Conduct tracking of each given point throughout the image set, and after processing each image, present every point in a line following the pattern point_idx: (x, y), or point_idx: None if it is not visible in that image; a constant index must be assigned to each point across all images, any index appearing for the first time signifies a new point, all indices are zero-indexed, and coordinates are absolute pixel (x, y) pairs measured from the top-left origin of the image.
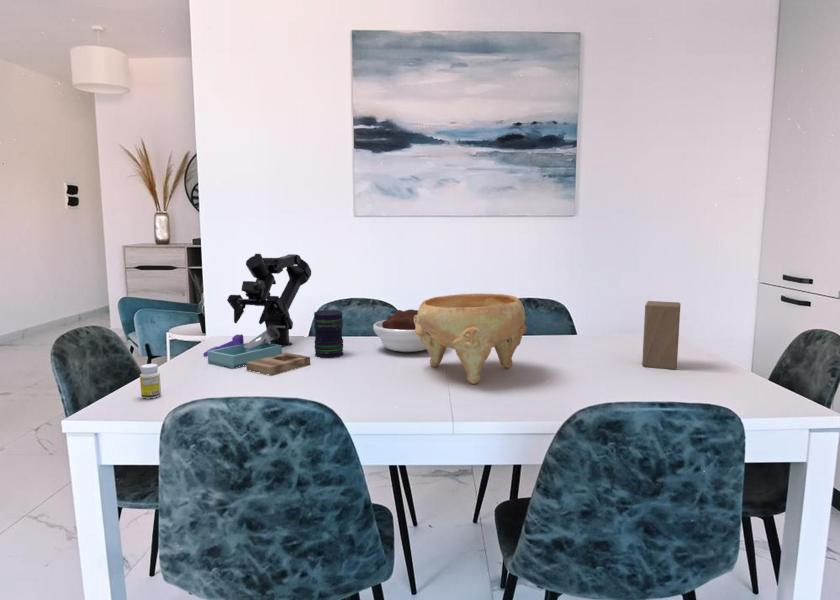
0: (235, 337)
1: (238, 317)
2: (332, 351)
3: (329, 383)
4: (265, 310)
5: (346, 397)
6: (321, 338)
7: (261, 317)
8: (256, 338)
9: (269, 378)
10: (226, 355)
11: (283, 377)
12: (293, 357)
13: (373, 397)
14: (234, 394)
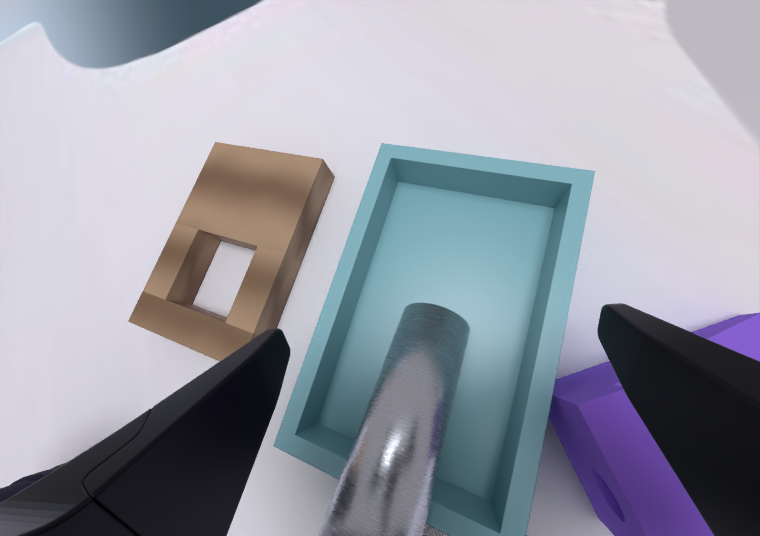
0: (604, 400)
1: (671, 427)
2: None
3: (81, 162)
4: (88, 459)
5: (47, 101)
6: (19, 490)
7: (225, 366)
8: (401, 396)
9: (227, 137)
10: (427, 150)
11: (194, 159)
12: (193, 309)
13: (5, 121)
14: (251, 14)
